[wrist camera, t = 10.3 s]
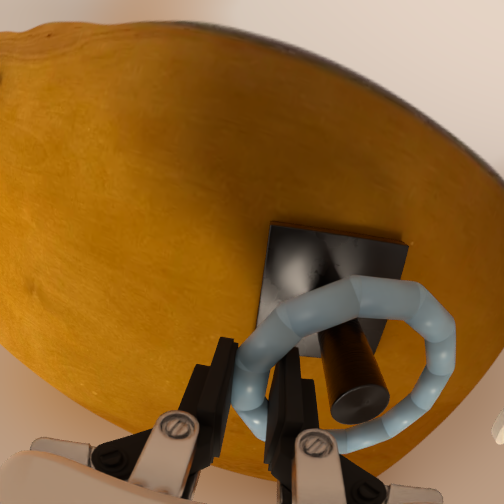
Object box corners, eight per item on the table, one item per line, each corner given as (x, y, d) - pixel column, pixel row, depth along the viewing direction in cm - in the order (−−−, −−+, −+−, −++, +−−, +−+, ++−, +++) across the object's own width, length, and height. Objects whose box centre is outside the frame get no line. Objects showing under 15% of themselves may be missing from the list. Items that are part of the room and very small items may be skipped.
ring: (475, 282, 9) (493, 296, 8) (398, 434, 12) (404, 451, 11) (245, 255, 10) (240, 271, 8) (228, 432, 13) (224, 452, 11)
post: (402, 240, 17) (493, 312, 8) (368, 351, 20) (405, 456, 10) (270, 220, 18) (260, 290, 8) (253, 341, 21) (235, 456, 11)
